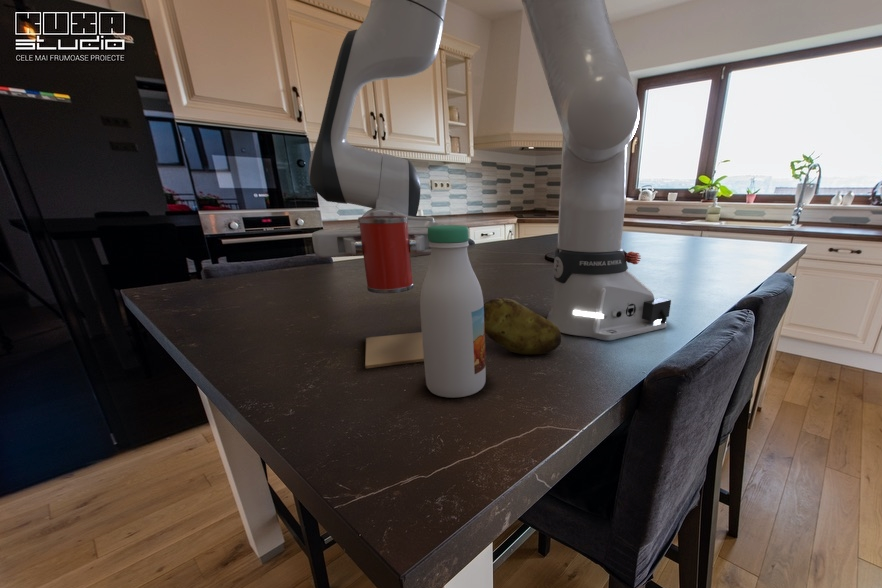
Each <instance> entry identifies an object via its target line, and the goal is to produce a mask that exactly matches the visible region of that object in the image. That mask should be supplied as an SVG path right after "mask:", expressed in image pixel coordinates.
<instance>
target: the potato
mask: <svg viewBox="0 0 882 588" xmlns="http://www.w3.org/2000/svg"><path fill="white" fill-rule="evenodd" d="M483 304H484V325H485V335H487V337H488V338H489V339H490V340H492V341H493V342H495V343H497V344H499V345H501V347H503V348H504V349H506V350H507V351H509V352H511V353H515V354H517V355H518V354H519V355H523V356H531V355H532V356H533V355H536V356H537V355H543V354H547V353H551V352H553V351H555V350H556V349H557V348H558V347H559V346H560V345H561V343H562V332H560V330H559V328H558V327H557V326H556V325H555V324H553V323H552V322H550V321H549V320H547V318H546V317H544V316H542V315H540V314H538V313H536V312H534V311H533V310H532V309H530V308H528V307H526V306H524V305H523V304H522V303H519V302H518V301H517V300H514V299H511V298H506V297H505V298H504V297H497V298H492V299H490V300H488V301H486V302H485V303H483Z"/></svg>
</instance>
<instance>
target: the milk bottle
mask: <svg viewBox="0 0 882 588" xmlns="http://www.w3.org/2000/svg"><path fill="white" fill-rule="evenodd" d="M428 240H429V245H428V246H429V247H430V248H431V255H430V260H429V264H428V267H427V270H426V274H425V276H424V279H423V280H422V281H423V282H422V285H421V288H420V295H419V311H420V313H419V314H420V326H421V327H420V329H421V332H422V342H423V354H424V361H423V362H424V363H423V365H424V374H425V375H424V376H425V377H424V379H425V386H426V387H427V389H428V390H429V392H430V393H432V394H434V395H436V396H438V397H443V398H451V399H454V398H463V397H468V396H472V395H475V394H476V393H478V392H479V391H481V390H482V389H483V388H484V387H485V385H486V380H487V377H486V376H487V371H486V370H487V369H486V368H487V364H486V363H487V362H486V361H487V360H486V333H485V325H484V304H485V303H484V296H483V291H482V287H481V284H480V282H479V280H478V278H477V275H476V273H475V271H474V269H473V266H472V265H471V264H472V263H471V261H470V258H469V254H468V247H470V243H469V240H470V232H469V227H468V226H465V225H458V224H443V225H438V226H431V227H429V228H428Z"/></svg>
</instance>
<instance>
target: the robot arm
mask: <svg viewBox="0 0 882 588" xmlns="http://www.w3.org/2000/svg"><path fill="white" fill-rule="evenodd" d="M447 2H448V0H370V5H369V7H368V12H367V13H366V16H365V18H364V20H363V21H362V23H361V24H360V26H359V27H358V28H356V29H353V30H348V31H347V33H346V34H345V36H344V38H343V40H342V42H341V45H340V48H339V51H338V55H337V59H336V63H335V66H334V70H333V73H332V77H331V82H330V86H329V91H328V94H327V99H326V102H325V108H324V112H323V116H322V120H321V124H320V127H319V132H318V136H317V139H316V143H315V145H314V147H313V149H312V152H311V155H310V158H309V161H308V171H307V173H308V179H309V184H310V186H311V187H312V189H313V190H314V191H315V192H316V193H317V194H318V195H319V196H320V197H321V198H322V199H323V200H324V201H326V202H328V203H336V204H346V205H347V204H351V205H356V206H358V207H359V206H360V207H364V208H368V209H369V208H370V209H369V210H367V211H365V212H364V213H363V215H362V216H361V217H367V216H405V217H407V220H408V222H407V224H408V236H409V247H410V258H417V257H424V256H431V248H430V247H429V246H428V245H429V240H428V228H429V227H431V226H438V225H444V223H441V222H438V221H435V218H434V217H433V216H427V215H418V212H419V207H420V201H421V180H420V175H419V173H418V172H417V169H416V168H415V166H414V164H413V163H412V162H411V161H410V160H409V159H406V158H403V157H399V156H395V155H392V154H388V153H384V152H383V153H382V152H377V151H375V150H371V149H366V148H363V147H359V146H355V145H352V144H351V143H350V142H349V141H348V140H347V135H348V131H349V128H350V125H351V120H352V117H353V113H354V109H355V104H356V101H357V97H358V95H359V92H360V91H361V90H362V89H363V88H364V87H365V86H366V85H367V84H370V83H373V82H376V81H381V80H382V81H383V80H392V79H402V78H410V77H413V76H416V75H419V74H421V73H423V72H425V71H426V70H428V69H429V68H430V67H431V66H432V65H433V64H434V62H435V61H436V59H437V57H438V52H439V50H440V49H439V48H440V44H441V42H442V36H443V29H444V23H445V17H446V16H445V15H446V9H447ZM521 4H522V7H523V10H524V13H525V17H526V21H527V23H528V27H529V30H530V32H531V33H530V34H531V36H532V40H533V42H534V46H535V49H536V53H537V56H538V60H539V62H540V65H541V68H542V70H543V74H544V77H545V80H546V84H547V86H548V89H549V92H550V95H551V99H552V102H553V104H554V105H553V106H554V108H555V111H556V115H557V118H558V121H559V124H560V127H561V131H562V132H561V133H562V145H561V146H562V148H561V167H560V185H559V200H558V201H559V203H558V225H557V226H558V227H557V247H555V249H554V260H553V278H554V286H553V292H552V298H551V302H550V307H549V311H548V315H547V316H546V319H547V320H549V321H550V322H552V323H553V324H555V325H556V326H557V327H558V328H559V330H560V333H561V334H566V335H570V336H571V335H572V336H578V337H588V338H593V339H598V340H601V341H615V340H619V339H622V338H627V337H632V336H636V335H640V334H645V333H649V332H654V331H658V330H662V329H665V328H667V320H668V319H667V318H669V316H670V311H671V304H672V300H671V299H667V298H664V297H660V298H655V296H654V293H653V291H652V290H651V289H650V288H649V287H648V286H646V285H645V283H643V282H642V281H641V280H639V278H637V277H636V276H635V275H634V274H633V273H631V271H630V270H629V267H628V264H632V265H638V264H639V262H641V258H642V255H641V254H640V253H639V252H634V251H628V252H627V251H626V250H624V249H622V243H623V241H622V240H623V232H624V231H623V230H624V222H625V211H626V166H627V165H626V163H627V147H628V144H629V143H630V142H631V141H632V139H633V137H634V135H635V134H636V131H637V128H638V125H639V121H640V103H639V99H638V95H637V92H636V90H635V88H634V85H633V82H632V79H631V75H630V72H629V69H628V66H627V63H626V61H625V59H624V56H623V53H622V50H621V48H620V45H619V43H618V41H617V39H616V36H615V32H614V29H613V27H612V24H611V20H610V17H609V12H608V9H607V6H606V1H605V0H521ZM311 240H312V247H313V252H314V255H315V256H316V257H317V258H324V259H325V258H327V259H328V258H347V257H364V256H363V248H362V247H363V246H362V241H361V233H360V225H359V222H358V223H357V227H333V228H331V227H330V228H324V229H319V230H316V231H314V232H312V233H311Z"/></svg>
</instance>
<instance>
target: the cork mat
mask: <svg viewBox="0 0 882 588" xmlns="http://www.w3.org/2000/svg"><path fill="white" fill-rule="evenodd" d="M364 358H365V362H364V367H365V369H366V370H367V369H373V368H381V367H391V366H397V365H406V364H413V363H420V362H424V354H423V342H422V331H419V332H410V333H409V332H408V333H399V334H391V335H379V336H369V337H366V338H365V357H364Z"/></svg>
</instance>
